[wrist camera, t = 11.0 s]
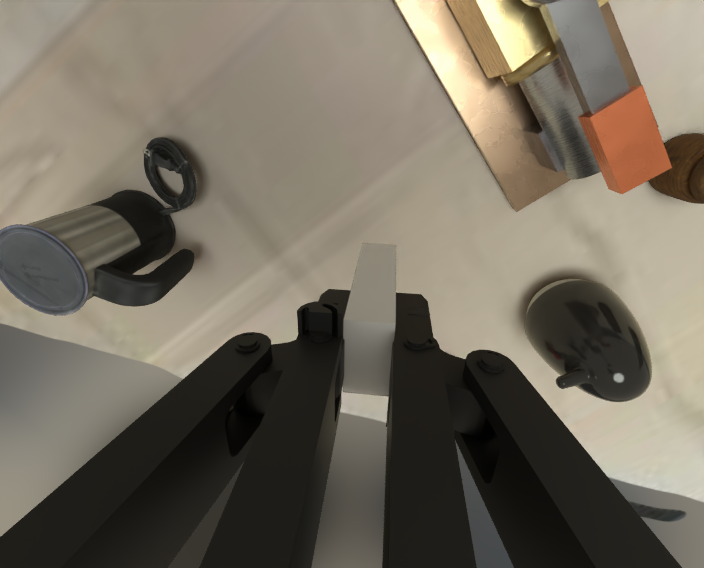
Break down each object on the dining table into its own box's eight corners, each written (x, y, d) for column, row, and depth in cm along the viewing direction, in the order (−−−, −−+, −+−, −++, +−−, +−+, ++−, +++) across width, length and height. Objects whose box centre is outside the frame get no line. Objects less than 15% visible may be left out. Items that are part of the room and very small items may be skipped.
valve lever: (501, -42, 22) (509, -53, 21) (567, -96, 21) (581, -112, 19) (603, 191, 27) (615, 197, 26) (661, 160, 26) (678, 164, 25)
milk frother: (112, 254, 49) (7, 310, 36) (85, 126, 42) (-60, 137, 29) (215, 268, 48) (147, 330, 35) (205, 140, 41) (113, 157, 28)
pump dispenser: (516, 270, 44) (569, 345, 30) (611, 263, 42) (714, 339, 28) (511, 341, 48) (556, 434, 34) (597, 337, 46) (681, 434, 33)
